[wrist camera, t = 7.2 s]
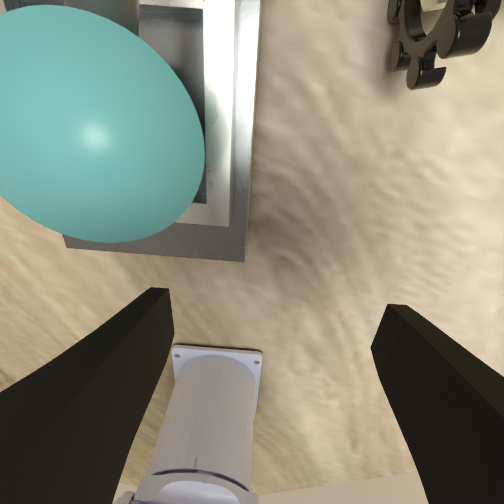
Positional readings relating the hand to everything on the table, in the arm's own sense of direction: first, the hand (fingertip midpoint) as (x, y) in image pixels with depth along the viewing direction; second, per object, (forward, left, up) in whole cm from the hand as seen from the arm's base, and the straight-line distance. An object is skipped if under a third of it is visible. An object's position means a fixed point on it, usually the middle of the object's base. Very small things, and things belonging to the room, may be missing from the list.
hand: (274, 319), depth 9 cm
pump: (+5, +6, -5) cm, 10 cm away
